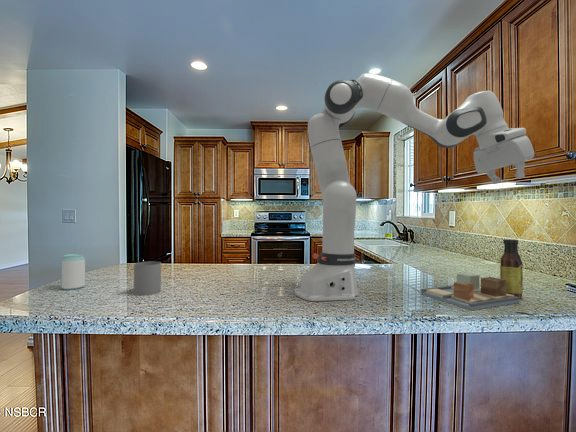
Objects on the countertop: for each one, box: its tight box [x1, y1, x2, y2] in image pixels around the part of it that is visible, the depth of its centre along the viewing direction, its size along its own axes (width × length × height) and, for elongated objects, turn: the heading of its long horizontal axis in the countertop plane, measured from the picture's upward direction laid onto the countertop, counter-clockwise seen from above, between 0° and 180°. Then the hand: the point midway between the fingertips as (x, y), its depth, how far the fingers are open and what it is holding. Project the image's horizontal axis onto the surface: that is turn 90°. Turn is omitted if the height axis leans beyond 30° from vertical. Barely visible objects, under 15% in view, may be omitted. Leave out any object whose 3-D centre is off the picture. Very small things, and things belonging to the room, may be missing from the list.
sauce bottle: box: [499, 238, 524, 299], centre depth 104 cm, size 7×6×20 cm
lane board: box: [420, 284, 520, 311], centre depth 101 cm, size 22×19×2 cm
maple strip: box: [451, 281, 514, 303], centre depth 98 cm, size 20×7×5 cm, turn 112°
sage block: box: [456, 272, 480, 290], centre depth 108 cm, size 5×5×5 cm
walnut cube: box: [480, 276, 506, 297], centre depth 99 cm, size 5×5×5 cm
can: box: [60, 253, 86, 291], centre depth 108 cm, size 7×7×12 cm
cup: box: [133, 260, 162, 297], centre depth 104 cm, size 8×8×10 cm
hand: (508, 180), depth 97 cm, fingers open, 8 cm apart
